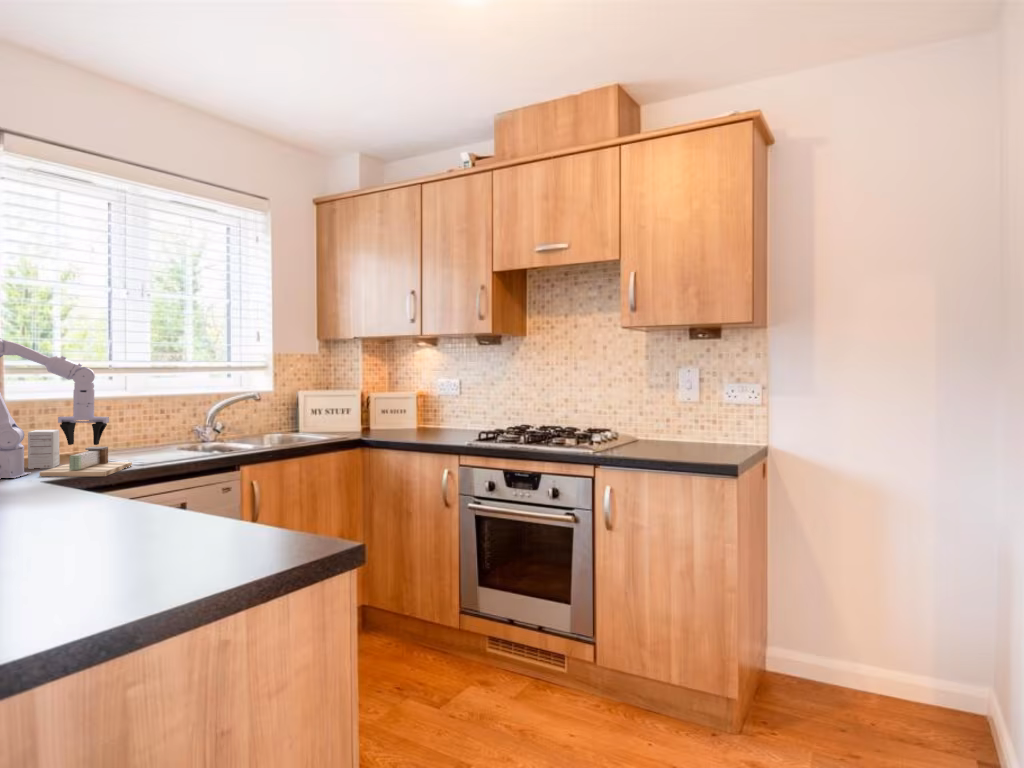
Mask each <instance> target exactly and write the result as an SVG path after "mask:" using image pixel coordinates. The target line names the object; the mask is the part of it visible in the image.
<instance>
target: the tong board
mask: <svg viewBox="0 0 1024 768" xmlns="http://www.w3.org/2000/svg"><path fill="white" fill-rule="evenodd" d="M90 450H100V463H99V464H96V465H92V466H89V467H86V468H83V469H80V470H69V463H65V464H63V465H58V466H56V467H54V468H47V469H45V470H42V471H39V477H40V476H68V477H107V476H109V475H113V474H115V473H119V472H120V470H121V471H123V470H122V469H124V468H126V467H129V466H131V465H132V466H133V462H132V461H127V462H126V461H117V462H116V461H111V462H109V446H90V447H85V451H90ZM129 468H130V467H129ZM126 469H127V468H126ZM124 470H125V469H124Z"/></svg>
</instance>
